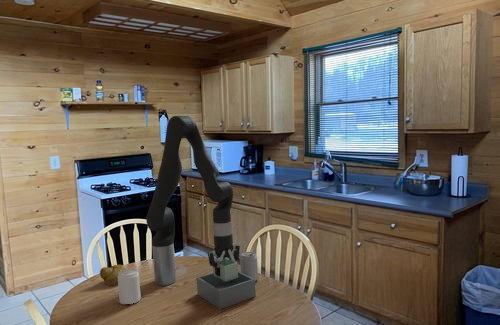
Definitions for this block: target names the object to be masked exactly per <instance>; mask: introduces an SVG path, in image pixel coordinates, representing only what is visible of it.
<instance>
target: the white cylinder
mask: <svg viewBox="0 0 500 325" xmlns="http://www.w3.org/2000/svg"><path fill="white" fill-rule="evenodd" d="M117 286H118V296H119V300H118V301H119V303H120V304H121V305H125V304H130V305H134V304H136V303H138V302H140V300H141V299H142V298H141V295H142V294H141V282H140V274H139V271H138V269H135V268H126V270H123V271H121V272H119V275H118V284H117ZM133 303H134V304H133Z"/></svg>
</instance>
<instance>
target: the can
mask: <svg viewBox="0 0 500 325" xmlns="http://www.w3.org/2000/svg"><path fill="white" fill-rule="evenodd" d="M239 262H240V264H239V265H240V272H241V273H243V274H245V275H247V276H249V277H251V278H253V279H255V282H256V281H258V279H259V269H258V256H257V254H256V252H254V251H245V252H243V253H241V256H239Z"/></svg>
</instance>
